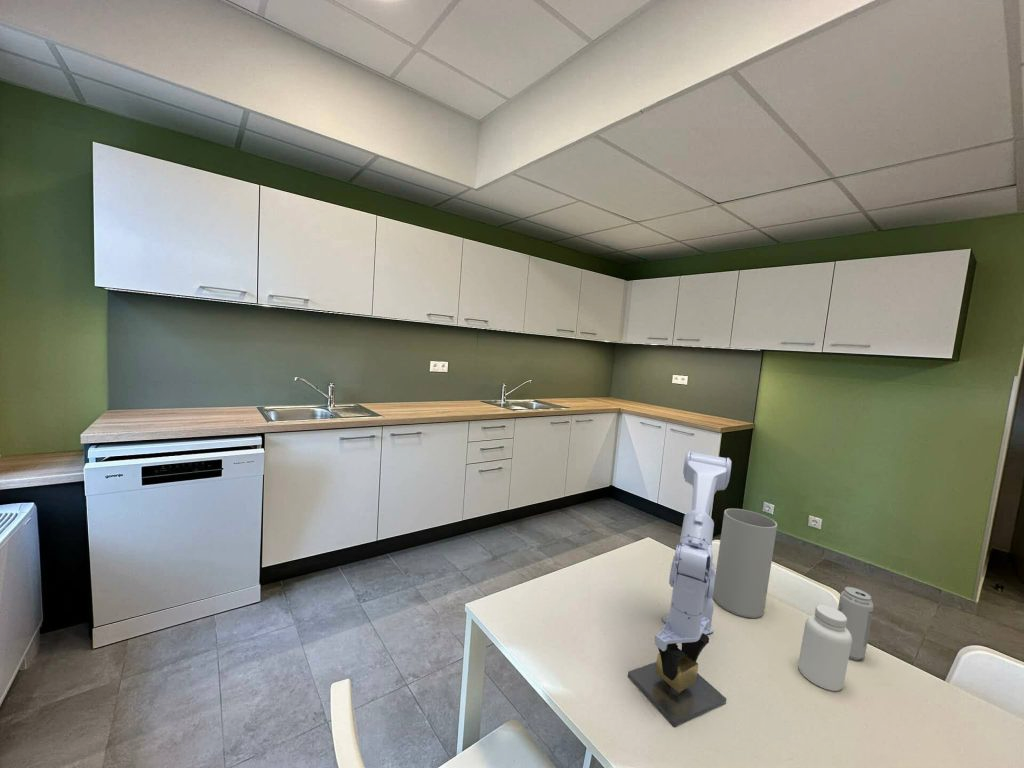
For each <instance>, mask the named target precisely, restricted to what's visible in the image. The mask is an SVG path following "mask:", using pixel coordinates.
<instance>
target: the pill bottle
mask: <svg viewBox="0 0 1024 768" xmlns="http://www.w3.org/2000/svg"><path fill="white" fill-rule="evenodd" d="M846 623H847V618H846V616H845V615H844V614H843V613H842V612H840V611H839V610H838V608H835V607H832V606H829V605H825V604H818V605H816V606H815V609H814V614H812V615H810V616H807V618H806V619H805V623H804V629H803V635H802V638H801V639H802V641H801V645H800V651H799V657H798V663H797V664H798V670H799V672H800V673H801V674H802V675H803V676H804V678H806V679H807V680H808V681H809V682H811V683H812V684H814V685H816V686H818V687H820V688H822V689H825V690H827V691H833V692H838V691H841V690H842V689H843V687H844V685H845V679H846V676H847V674H846V673H847V671H848V669H847V668H848V665H849V660H850V658H849V655H850V649H851V644H852V637H851V634H850V632H849V631H848V630H847V629H846Z"/></svg>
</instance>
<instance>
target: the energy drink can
mask: <svg viewBox="0 0 1024 768" xmlns="http://www.w3.org/2000/svg"><path fill="white" fill-rule="evenodd" d="M837 610H839V611H840V612H842V613H843V614H844V615H845V616H846V618H847V623H846V629H847V630H848V631H849V632H850V634H851V637H852V644H851V649H850V655H849V660H850V659H851V660H853V661H860V660H861V659H864V658H865V657H866V653H867V648H868V647H867V646H868V640H869V635H870V629H871V623H872V618H873V612H874V603H873V601H872V595H870V594H869V593H867V592H866V591H864V590H861V589H859V588H857V587H851V586H846V587H844V590H842V591H841V593H840V596H839V601H838V607H837Z"/></svg>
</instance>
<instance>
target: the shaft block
mask: <svg viewBox="0 0 1024 768" xmlns="http://www.w3.org/2000/svg"><path fill="white" fill-rule="evenodd" d="M656 664H657V661H654V662H651V663H650V664H647V665H643V666H641V667H640V666H639V667H638V668H634V669H632V670H629V671H627V678H629V680H631V681H632V683H633V684H634V685H635V686H636V687H637V688H638V690H639V691H640V692H642V694H643V695H644V696H645V697H646V698H647V699H648V700H649V702H651V704H652V705H653V706H654V707H655V708H656V709H657V710H658V711H659V712H660V713H661V714H662V716H663V717H664V718H665V719H666V720H667V721H668V722H669V723H670V724H671V726H673V728H675V727H678V726H680V725H683V724H684V723H686V722H688V721H691V720H693V719H695V718H698V717H700V716H702V715H704V714H706V713H709V712H711V711H712V710H716V709H717V708H719V707H721V706H724V705H726V704H727V697H726V696H725V695H723V694H722V693H721V692H720V691H718V690H717V689H716V687H714V686H713V685H712V684H711V683H710V682H709V681H707V680H706V679H705V678H704V677H703V676H702V675H700V674H699V672H697V678H696V683H695V684H693V685H691V686H690V687H688V688H686V689H684V690H683V691H681V692H679V693H678V692H677V691H676V690H675V689H674V688H673V687H672V686H670V685H669V684H668V683H667V682H666V681H665V680H663V679H662V678H661V677H660V676H659V675H658V674H657V673H655V672H656Z"/></svg>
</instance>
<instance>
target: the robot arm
mask: <svg viewBox="0 0 1024 768" xmlns="http://www.w3.org/2000/svg"><path fill="white" fill-rule="evenodd" d="M731 471H732V460H731V458H730V457H723V456H722V457H721V456H718V455H717V456H715V455H710V454H706V453H705V454H704V453H701V452H695V451H691V450H688V451H687V452H686V453H685V457H684V462H683V471H682V472H683V473H682V475H683V479H684V481H685V482H686V483H688V484H690V486H692V498H691V499H692V500H691V510H690V511H689V512H686V513H685V514H684V516H683V520H682V521H683V522H682V526H681V528H682V529H681V534H680V538H679V544H677V545H676V548H675V551H674V556H673V557H672V562H671V566H670V570H669V571H670V572H669V578H668V579H669V580H668V584H669V585H670V587H671V588H672V593H671V602H670V607H669V614H667V615H664V617H662V619H661V621H662V622H664V626H663V627H662V629H661V630H660V632H658V634H656V635H655V638H654V646H656V647H657V649H658V652H659V653H660V656H661V661H662V669H663V674H664V675H665V676H666V677H668V678H669V679H670V680H671V681H672V680H674V678H675V676H676V673H677V669H678V665H679V663H680V661H681V659H682V657H683V656H684V655H685V654H686V655H688V656H689V657H690V658H692V659H693V660H694V661H696V662H697V660H698V658H699V656H700V654H701V652H702V651H703V649H704V648H705V647H706V646H707V645H708V644H709V642H710V637H709V636H708V635H709V634H712V633H714V632H715V631H714V629H713V628H712V621H713V616H714V615H713V613H714V606H715V605H714V601H713V598H714V597H713V590H714V582H715V575H716V567H715V565H714V563H713V557H714V556H713V536H714V535H713V534H714V527H715V522H714V520H713V519H712V517H711V511H712V505H713V500H714V495H715V494H716V493H717V491H725V490H726V488H728V484H729V482H730V477H731ZM678 644H681V649H680V648H679V645H678ZM659 653H658V654H659Z"/></svg>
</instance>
